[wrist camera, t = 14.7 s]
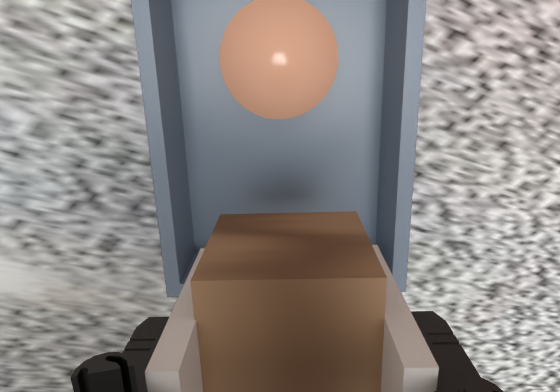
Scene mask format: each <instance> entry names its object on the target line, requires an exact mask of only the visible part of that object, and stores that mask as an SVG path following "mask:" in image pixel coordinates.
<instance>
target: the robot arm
mask: <svg viewBox="0 0 560 392" xmlns="http://www.w3.org/2000/svg"><path fill="white" fill-rule="evenodd" d="M372 246H373V248H374V251H375V253H376V255H377V257H378V259H379V262H380V264H381V266H382V268H383V270H384V272H385V275H386V277H387V286H386V305H385V322H384V341H383V359H382V377H381V392H503V391H502V390H501V389H500V388H499V387H498V386H496V385H495V384H493V383H491V382H489V381H488V380H486V379H483V378H481V377H480V375H479V374H478V372H477V370H476V369H475V367H474V366H473V364H472V362H471V361H470V359H469V358H468V356H467V354H466V353H465V351H464V349H463V348H462V346H461V345H459V341H458V340H457V338H456V337H455V335H453V332H452V330H451V329H450V327H449V325H448V324H447V322H446V321H445V320H444V319H442V318H441V317H440V316H438V315H437V314H436V313H434V312H433V311H416V312H411V311H410V309H409V307H408V305H407V303H406V301H405V299H404V297H403V295H402V293H401V291H400V289H399V287H398V285H397V283H396V281H395V279H394V278H393V276H392V274H391V272H390V270H389V268H388V266H387V264H386V262H385V260H384V258H383V256H382V254H381V252H380V250H379V248H378V246H377V245H372ZM204 249H205V248H201V249H200V251H199V253H198V255H197V257H196V260H195V262H194V264H193V266H192V268H191V271H190V273H189V275H188V277H187V279H186V282H185V284H184V286H183V288H182V291H181V293H180V295H179V297H178V299H177V302H176V304H175V306H174V308H173V310H172V313H171V315H170V317H149V318H147V319H146V320H145V321H144V322H142V323H141V324H140V325H139V326H138V327H136V329H135V331H134V333H133V335H132V336H131V338H130V341H129V342H128V343H127V345H126V347H125V350H124V351H123V352H122V353H121V352H107V353H103V354H100V355H96V356H94V357H92V358H90V359H88V360H86V361H84V362H83V363H82V364H81V365H80V366H78V367H77V368H76V369H75V371H74V372H73V374H72V376H71V381H72V385H73V390H74V392H203V385H202V375H201V365H200V355H199V345H198V335H197V325H196V320H194V312H193V302H192V293H191V283H190V281H191V278H192V276H193V274H194V272H195V269H196V267H197V265H198V263H199V261H200V258H201V256H202V254H203V252H204Z"/></svg>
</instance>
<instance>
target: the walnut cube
mask: <svg viewBox="0 0 560 392" xmlns="http://www.w3.org/2000/svg"><path fill="white" fill-rule="evenodd" d="M190 283H191V293H192V302H193V312H194V320H196V325H197V335H198V345H199V355H200V365H201V375H202V385H203V392H381V377H382V359H383V341H384V322H385V305H386V286H387V277H386V275H385V272H384V270H383V268H382V266H381V264H380V262H379V259H378V257H377V255H376V253H375V251H374V248H373V246H372V244H371V242H370V240H369V238H368V235H367V233H366V231H365V229H364V227H363V225H362V222H361V220H360V218H359V216H358V214H357V212H356V211H348V212H302V213H255V214H220V216H219V218H218V221H217V223H216V225H215V227H214V229H213V232H212V234H211V236H210V238H209V241H208V243H207V245H206V247H205V249H204V252H203V254H202V256H201V258H200V261H199V263H198V265H197V267H196V269H195V272H194V274H193V276H192V278H191V281H190Z"/></svg>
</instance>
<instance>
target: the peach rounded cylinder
mask: <svg viewBox="0 0 560 392" xmlns="http://www.w3.org/2000/svg"><path fill="white" fill-rule="evenodd" d="M337 67H338V47H337V41H336V38H335V35H334V32H333V30H332V28H331V26H330V24H329V23H328V21H327V20H326V18H325V17H324V16H323V15H322V13H321V12H320V11H318V10H317V9H316V8H315V7H314V6H312V5H311V4H310V3H308V2H306V1H304V0H253V1H252V2H250V3H248V4H247V5H245V6H244V7H243V8H242V9H240V10H239V11H238V12H237V13H236V14H235V15H234V17H233V18H232V20H231V21H230V22H229V24H228V26H227V28H226V30H225V32H224V35H223V38H222V42H221V46H220V68H221V72H222V76H223V79H224V82H225V84H226V86H227V88H228V90H229V92H230V93H231V94H232V96H233V97H234V98H235V99H236V101H237V102H238V103H239V104H240V105H242V106H243V107H244V108H245V109H247V110H248V111H250V112H252V113H254V114H256V115H258V116H261V117H264V118H269V119H289V118H294V117H297V116H300V115H302V114H304V113H306V112H308V111H310V110H311V109H312V108H314V107H315V106H316V105H317V104H319V103H320V102H321V101H322V99H323V98H324V97H325V96H326V94H327V93H328V91H329V90H330V88H331V86H332V84H333V82H334V79H335V76H336V72H337Z"/></svg>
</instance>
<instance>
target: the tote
mask: <svg viewBox="0 0 560 392" xmlns="http://www.w3.org/2000/svg"><path fill="white" fill-rule="evenodd" d="M252 1H253V0H131V4H132V12H133V20H134V28H135V36H136V45H137V53H138V61H139V69H140V78H141V86H142V94H143V102H144V110H145V119H146V127H147V135H148V143H149V151H150V160H151V168H152V176H153V184H154V192H155V201H156V209H157V217H158V225H159V234H160V242H161V250H162V258H163V266H164V275H165V283H166V291H167V297H179V295H180V293H181V291H182V288H183V286H184V284H185V282H186V279H187V277H188V275H189V273H190V271H191V268H192V266H193V264H194V262H195V260H196V257H197V255H198V253H199V251H200V249H201V248H205V247H206V245H207V243H208V241H209V238H210V236H211V234H212V232H213V229H214V227H215V225H216V223H217V221H218V218H219V216H220V214H255V213H302V212H348V211H356V212H357V214H358V216H359V218H360V220H361V222H362V225H363V227H364V229H365V231H366V233H367V235H368V238H369V240H370V242H371V244H372V245H377V246H378V248H379V250H380V252H381V254H382V256H383V258H384V260H385V262H386V264H387V266H388V268H389V270H390V272H391V274H392V276H393V278H394V279H395V281H396V283H397V285H398V287H399V289H400V291H401V292H406V278H407V263H408V249H409V235H410V221H411V207H412V193H413V179H414V165H415V151H416V136H417V122H418V108H419V94H420V80H421V66H422V52H423V38H424V24H425V9H426V0H304V1H306V2H308V3H310V4H311V5H312V6H314V7H315V8H316V9H317V10H318V11H320V12H321V13H322V15H323V16H324V17H325V18H326V20H327V21H328V23H329V24H330V26H331V28H332V30H333V32H334V35H335V38H336V41H337V47H338V67H337V72H336V76H335V79H334V82H333V84H332V86H331V88H330V90H329V91H328V93H327V94H326V96H325V97H324V98H323V99H322V101H321V102H320V103H319V104H317V105H316V106H315V107H314V108H312V109H311V110H310V111H308V112H306V113H304V114H302V115H300V116H297V117H294V118H289V119H269V118H264V117H261V116H258V115H256V114H254V113H252V112H250V111H248V110H247V109H245V108H244V107H243V106H242V105H240V104H239V103H238V102H237V101H236V99H235V98H234V97H233V96H232V94H231V93H230V92H229V90H228V88H227V86H226V84H225V82H224V79H223V76H222V72H221V68H220V46H221V42H222V38H223V35H224V32H225V30H226V28H227V26H228V24H229V22H230V21H231V20H232V18H233V17H234V15H235V14H236V13H237V12H238V11H239V10H240V9H242V8H243V7H244V6H245V5H247V4H248V3H250V2H252Z"/></svg>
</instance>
